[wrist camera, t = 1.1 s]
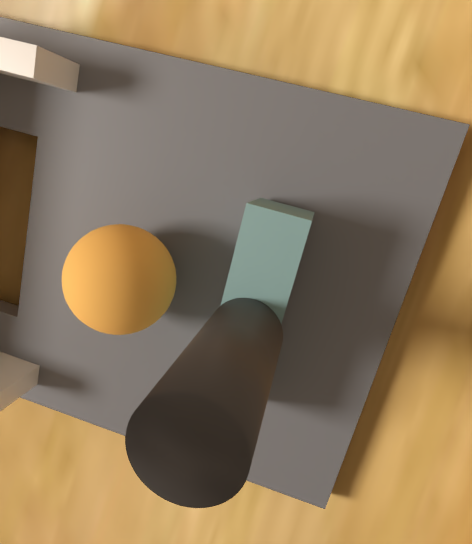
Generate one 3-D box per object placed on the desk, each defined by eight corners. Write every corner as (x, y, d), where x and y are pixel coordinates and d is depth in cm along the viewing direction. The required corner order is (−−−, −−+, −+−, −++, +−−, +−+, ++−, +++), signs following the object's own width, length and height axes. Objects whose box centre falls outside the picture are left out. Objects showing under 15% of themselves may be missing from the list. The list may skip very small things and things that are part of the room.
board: (460, 128, 15) (469, 124, 14) (324, 492, 19) (324, 509, 18) (-55, 8, 18) (-77, -1, 17) (-73, 348, 22) (-91, 356, 21)
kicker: (320, 213, 15) (312, 264, 7) (262, 404, 17) (200, 631, 9) (255, 196, 15) (168, 223, 7) (207, 385, 18) (94, 587, 9)
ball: (200, 234, 16) (162, 252, 13) (178, 326, 18) (138, 368, 14) (106, 207, 17) (43, 217, 13) (91, 298, 18) (29, 331, 14)
